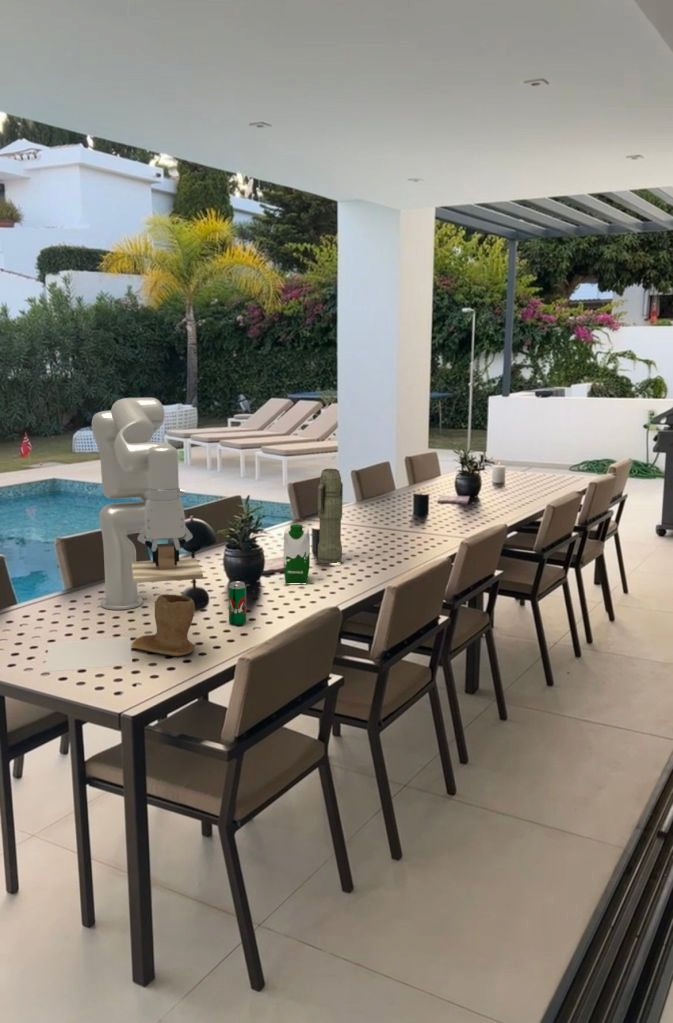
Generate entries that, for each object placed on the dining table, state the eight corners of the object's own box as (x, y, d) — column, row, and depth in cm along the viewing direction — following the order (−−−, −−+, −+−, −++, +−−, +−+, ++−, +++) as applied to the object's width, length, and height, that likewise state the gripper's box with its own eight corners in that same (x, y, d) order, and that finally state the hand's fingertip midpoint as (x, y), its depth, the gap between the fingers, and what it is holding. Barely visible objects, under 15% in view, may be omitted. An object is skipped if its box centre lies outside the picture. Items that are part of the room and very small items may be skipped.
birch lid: (131, 566, 227) (130, 539, 226) (196, 562, 231) (195, 536, 230) (133, 583, 211) (132, 554, 210) (203, 578, 215) (202, 550, 214)
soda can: (246, 620, 250) (246, 580, 248) (245, 626, 246) (245, 585, 243) (229, 620, 250) (229, 580, 248) (228, 626, 245) (227, 585, 243)
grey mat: (49, 644, 229) (49, 642, 229) (130, 638, 234) (129, 636, 234) (44, 674, 209) (43, 671, 209) (132, 666, 214) (132, 664, 214)
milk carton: (282, 585, 287) (282, 526, 283) (284, 577, 296) (284, 521, 292) (308, 585, 287) (309, 527, 283) (310, 578, 296) (310, 521, 292)
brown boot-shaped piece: (205, 648, 228) (204, 593, 225) (179, 662, 217) (177, 606, 214) (158, 639, 234) (156, 586, 231) (130, 653, 223) (128, 598, 220)
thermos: (310, 564, 313) (310, 470, 307) (329, 558, 323) (329, 466, 316) (330, 568, 308) (331, 472, 302) (348, 562, 318) (349, 468, 311)
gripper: (195, 491, 223) (197, 559, 227) (129, 493, 219) (132, 563, 222) (198, 496, 216) (200, 566, 219) (130, 498, 212) (133, 570, 215)
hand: (166, 564), depth 221 cm, fingers closed on birch lid, 4 cm apart
